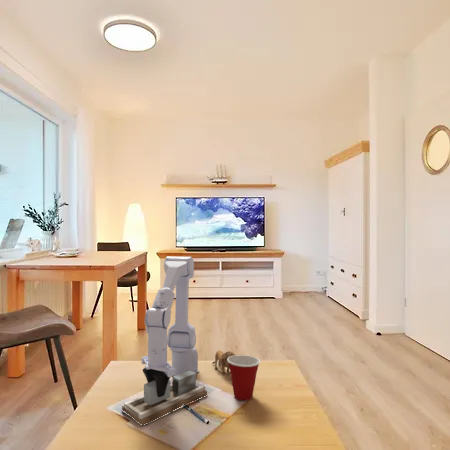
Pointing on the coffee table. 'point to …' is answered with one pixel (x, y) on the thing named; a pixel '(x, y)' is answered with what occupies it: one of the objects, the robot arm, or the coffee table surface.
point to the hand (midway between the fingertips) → (157, 393)
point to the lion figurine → (223, 360)
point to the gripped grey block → (154, 393)
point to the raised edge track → (179, 395)
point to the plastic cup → (243, 375)
